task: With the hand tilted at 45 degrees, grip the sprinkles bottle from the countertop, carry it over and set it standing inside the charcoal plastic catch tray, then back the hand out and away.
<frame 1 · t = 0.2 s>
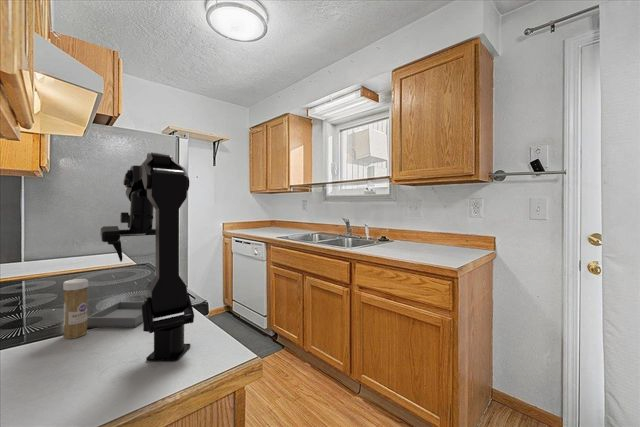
hand: (139, 259, 86), 16 cm above the counter, tool pointing down, fingers open, 9 cm apart
can: (166, 303, 94), on the counter
sprinkles bottle: (75, 336, 69), on the counter
catch tray: (126, 317, 80), on the counter
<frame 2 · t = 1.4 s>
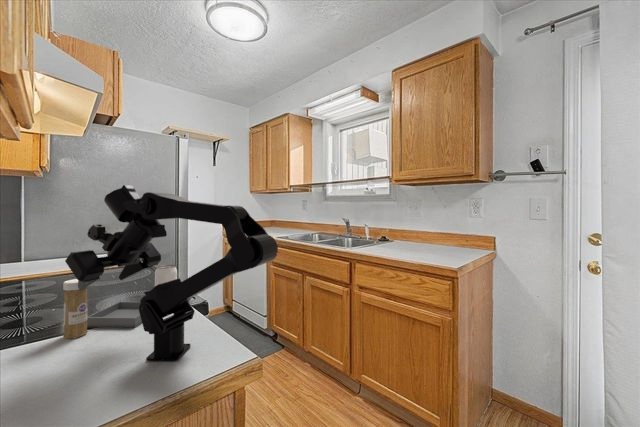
hand: (101, 283, 67), 13 cm above the counter, tool tilted 45°, fingers open, 9 cm apart
nothing on the counter moved.
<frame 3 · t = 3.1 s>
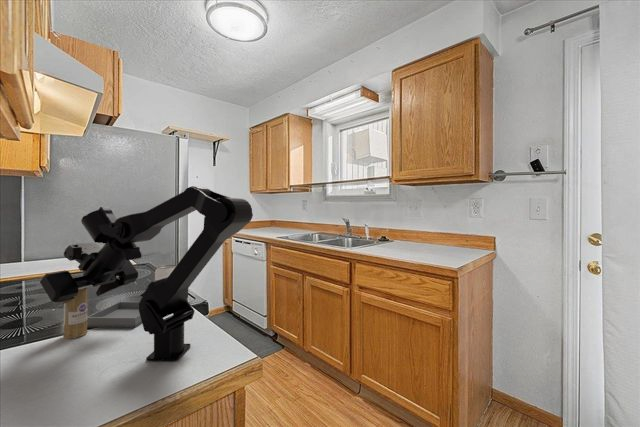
hand: (77, 299, 69), 9 cm above the counter, tool tilted 45°, fingers open, 9 cm apart
nothing on the counter moved.
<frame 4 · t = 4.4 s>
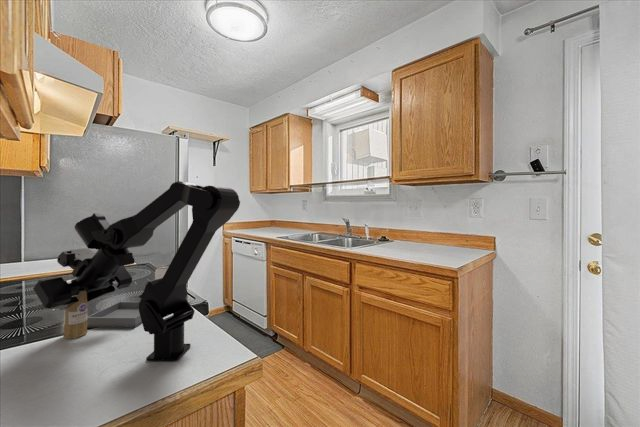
hand: (71, 305, 69), 7 cm above the counter, tool tilted 45°, fingers closed on sprinkles bottle, 4 cm apart
sprinkles bottle: (75, 336, 69), on the counter, touching gripper
everything else where it was.
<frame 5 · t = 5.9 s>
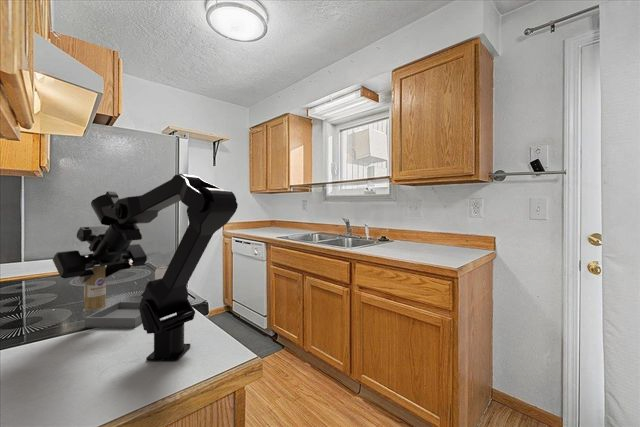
hand: (92, 279, 74), 12 cm above the counter, tool tilted 45°, fingers closed on sprinkles bottle, 4 cm apart
sprinkles bottle: (95, 308, 73), point 5 cm above the counter, touching gripper
everything else where it was.
when the fingers open (9 cm above the counter, at t = 7.6 s): sprinkles bottle stays where it is, resting on catch tray.
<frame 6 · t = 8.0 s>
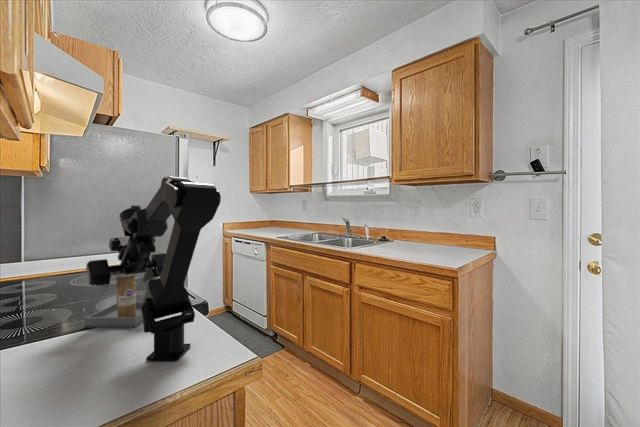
hand: (125, 285, 81), 9 cm above the counter, tool tilted 45°, fingers open, 9 cm apart
sprinkles bottle: (127, 316, 80), resting on catch tray
everything else where it was.
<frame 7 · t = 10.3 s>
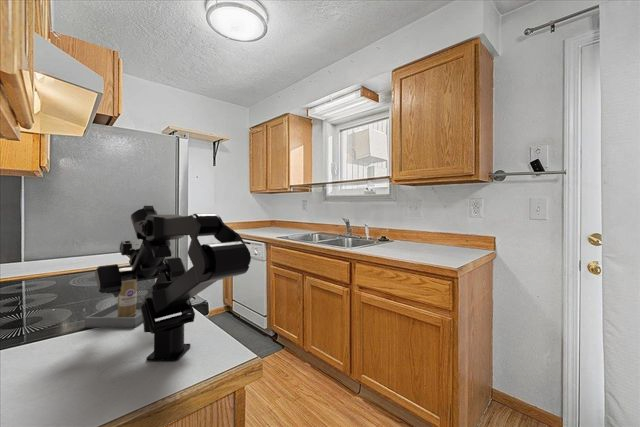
hand: (136, 291, 75), 9 cm above the counter, tool tilted 45°, fingers open, 9 cm apart
nothing on the counter moved.
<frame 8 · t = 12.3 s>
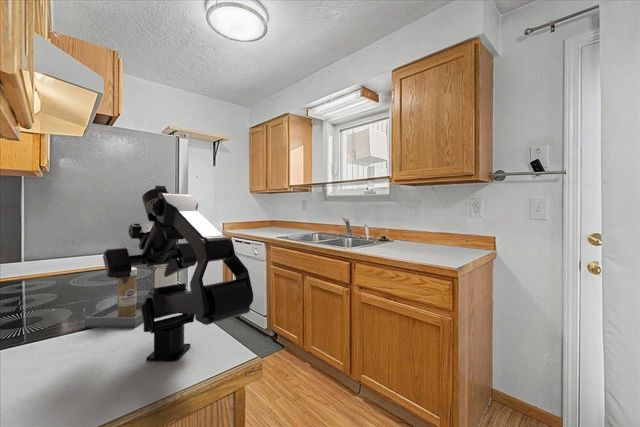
hand: (145, 278, 71), 14 cm above the counter, tool tilted 45°, fingers open, 9 cm apart
nothing on the counter moved.
at the end: sprinkles bottle inside the target area on the catch tray (0.2 cm from its centre), point 0.4 cm above the catch tray's base; sprinkles bottle tilted 0°; the gripper is holding nothing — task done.
